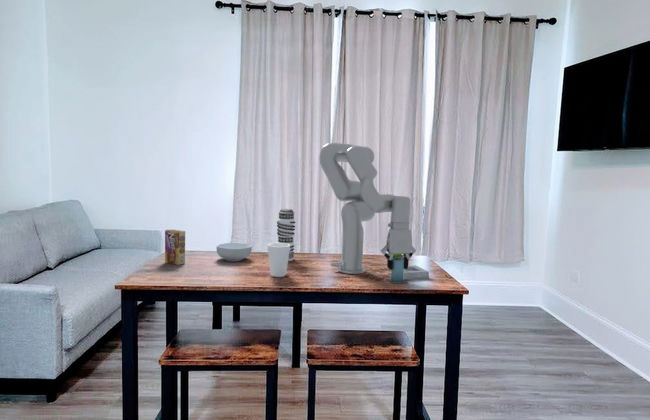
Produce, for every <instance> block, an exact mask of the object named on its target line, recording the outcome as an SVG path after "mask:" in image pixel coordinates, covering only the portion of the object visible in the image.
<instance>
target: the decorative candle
mask: <svg viewBox="0 0 650 420" xmlns="http://www.w3.org/2000/svg"><path fill="white" fill-rule="evenodd" d="M276 224H277V225H276V227H277V229H276V230H277V232H276V233H277V239H278V240H277V243H286V244H289V245H290V251H289V257H288V262H290V261H293V260H294V256H295V251H294V250H295V248H294V247H295V245H294V238H295V235H296V234H295V232H294V231H295V230H296V226H295V224H296V221H295V211H294V210H293V209H292V208H281V209H280V210H279V211H278V219H277V221H276Z"/></svg>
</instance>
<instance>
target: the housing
mask: <svg viewBox="0 0 650 420" xmlns="http://www.w3.org/2000/svg"><path fill="white" fill-rule="evenodd" d="M429 275H430V271H428V270H426V269H424V268H422V267H420V266H417V265H408V269H405V268H404V272H403V280H405V281H407V280H409V281H410V280H424V279H425V280H426V279H427V280H428V279H429V277H430V276H429Z"/></svg>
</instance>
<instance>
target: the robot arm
mask: <svg viewBox="0 0 650 420" xmlns="http://www.w3.org/2000/svg"><path fill="white" fill-rule="evenodd" d="M374 160H375V154H374V151H373V149H372V148H370V147H368V146H364V145H363V146H361V145H355V144H351V143H341V142H330V143H326V144H325V145H323V146H322V148H321V149H320V152H319V164H320V167H321V168H322V171H323V172H324V174H325V176H326V178H327V179H328V182H329V185H330V187H331V188H332V191H333V193H334V195H335V197H336V198H337V200H338V201H340V202H346V203H345V204H343V206H342V207H341V211H340V216H341V223H342V233H341V234H342V238H341V239H342V244H341V259H339V261H337V262H332V261H331V263H330V267H331V268H337V271H338V272H339V273H342V274H349V275H359V274H363V273H364V274H365V273H366V268H365V267H363V258H364V257H363V255H364V238H365V237H364V233H365V232H364V227H363V222H368V221H371V220H372V219H374V217H375V214H383V213H391V214H390V222H389V223H388V224H387V227H388V228H389V229H388V232H387V237H386V244H385V246H384V247H383V248H382V249H381V250H380V252H381V253H382V255H383V256H384V257H385V258H386V267H387V269H388V270H392V268H393V260H392V257H393V255H394V254H402V255H404V258H403V259H404V268H405V269H408V266H409V261H410V260H411V258H412V256H413V255H414V254H415V253H416V252H417V250H416V248H415V247H414V246H413V235H412V230H411V229H410V217H411V198H410V197H409V196H403V195H395V194H388V193H387V194H380V193H379V191H378V190H377V188H376V187H375V185H374V179H375V178H376V177H377V175H378V170H377V169H376V168H375V166H374V165H373V163H374ZM338 162H341V163H348V164H349V165H350V167H351V169H352V171H353V172H354V174H355V176H356V177H357V179H358V180H359V181H358V180H351V179H350V178H349V177H348V175H347V173H346V171H345V170H344V168H343V167H342V166H341V165H340V163H338ZM387 252H388V253H387Z"/></svg>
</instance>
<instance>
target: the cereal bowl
mask: <svg viewBox="0 0 650 420" xmlns="http://www.w3.org/2000/svg"><path fill="white" fill-rule="evenodd" d="M251 253H252V245H251V244H248V243H243V242H227V243H219V244H216V254H217V255H218V257H220V258H222V259H224V260H225V261H228V262H240V261H242V260H244V259H245V258H247V257H249V256H250V255H251Z"/></svg>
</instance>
